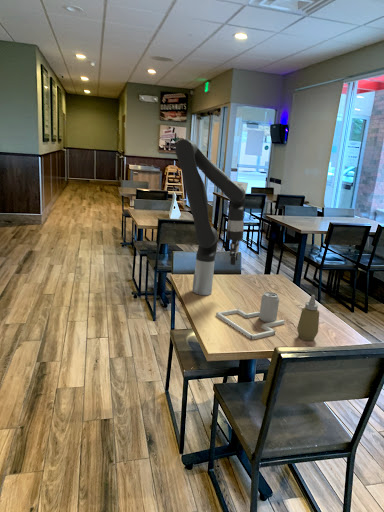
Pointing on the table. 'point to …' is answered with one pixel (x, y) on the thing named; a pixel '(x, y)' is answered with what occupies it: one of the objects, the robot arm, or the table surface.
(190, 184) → the robot arm
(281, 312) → the table surface
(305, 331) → the squeeze bottle
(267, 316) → the can
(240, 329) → the t outline
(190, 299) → the table surface
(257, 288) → the table surface
